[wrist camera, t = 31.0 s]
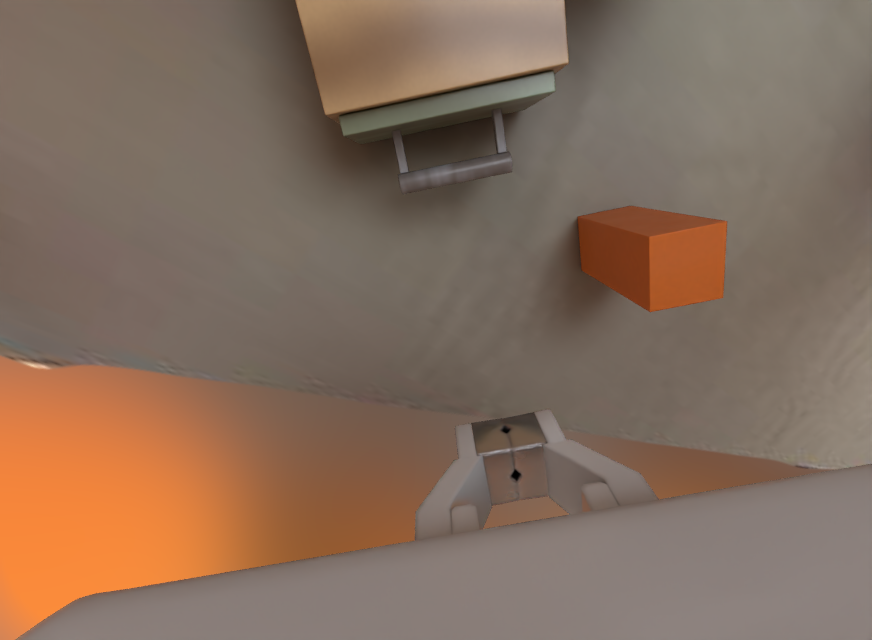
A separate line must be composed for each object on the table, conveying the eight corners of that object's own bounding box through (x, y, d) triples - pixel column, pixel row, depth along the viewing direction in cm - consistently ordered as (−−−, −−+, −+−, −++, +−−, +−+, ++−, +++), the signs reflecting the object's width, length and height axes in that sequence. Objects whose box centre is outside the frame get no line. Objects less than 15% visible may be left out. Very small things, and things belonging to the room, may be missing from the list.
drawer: (531, 165, 34) (562, 163, 26) (373, 197, 34) (360, 205, 27) (500, -128, 27) (529, -239, 20) (305, -84, 28) (265, -176, 20)
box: (631, 205, 36) (727, 220, 25) (632, 260, 38) (723, 298, 26) (577, 216, 36) (648, 236, 25) (581, 270, 38) (649, 312, 27)
